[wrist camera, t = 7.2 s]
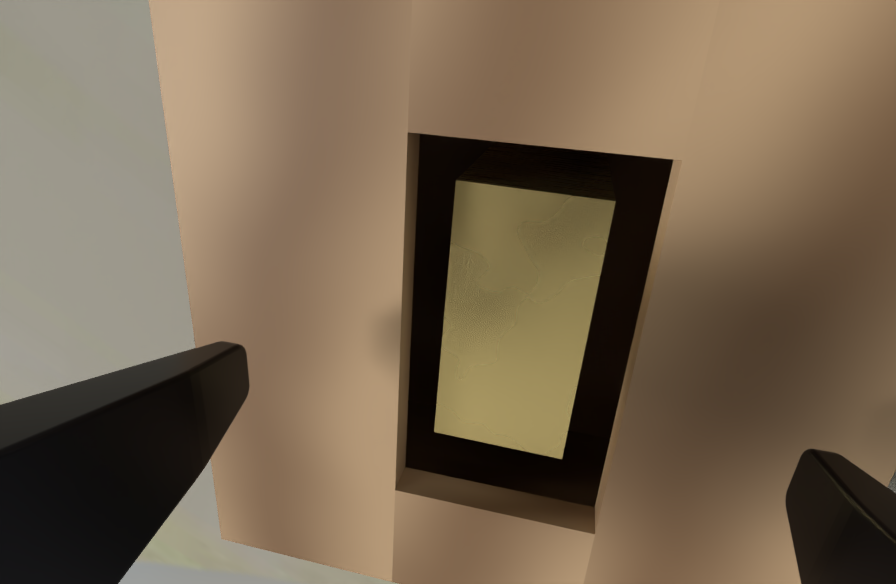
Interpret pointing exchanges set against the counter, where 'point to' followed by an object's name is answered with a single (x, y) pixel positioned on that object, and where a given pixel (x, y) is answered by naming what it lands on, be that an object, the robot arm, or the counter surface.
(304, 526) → the tan block with hole
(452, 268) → the block
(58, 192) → the counter surface
